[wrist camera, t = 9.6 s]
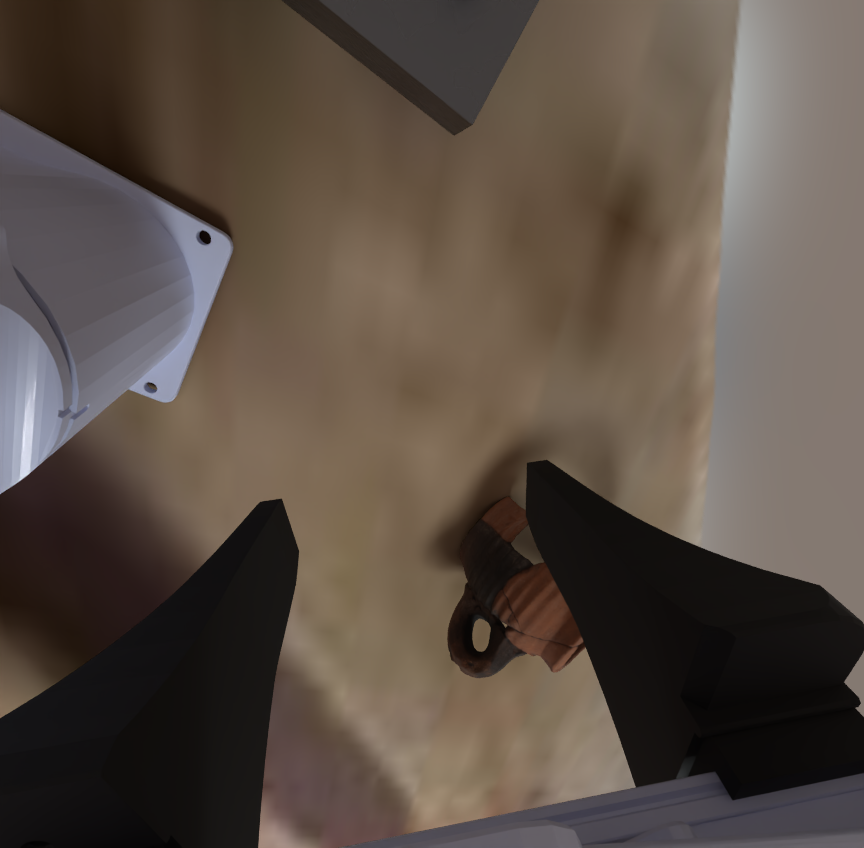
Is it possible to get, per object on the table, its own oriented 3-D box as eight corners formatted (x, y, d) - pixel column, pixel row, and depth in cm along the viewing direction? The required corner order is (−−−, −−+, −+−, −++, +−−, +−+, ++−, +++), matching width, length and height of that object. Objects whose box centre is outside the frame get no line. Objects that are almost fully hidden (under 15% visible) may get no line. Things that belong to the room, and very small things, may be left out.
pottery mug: (535, 453, 25) (661, 559, 20) (557, 499, 33) (652, 584, 28) (388, 598, 24) (481, 742, 20) (445, 610, 32) (522, 715, 27)
